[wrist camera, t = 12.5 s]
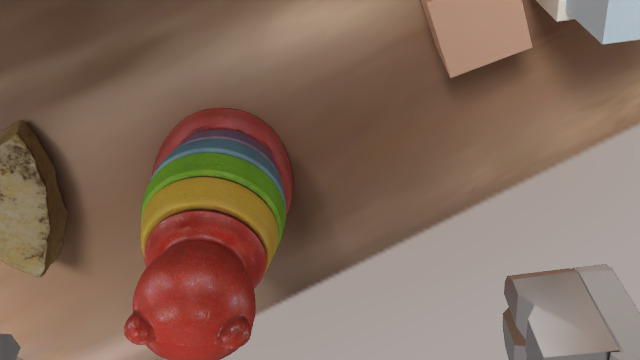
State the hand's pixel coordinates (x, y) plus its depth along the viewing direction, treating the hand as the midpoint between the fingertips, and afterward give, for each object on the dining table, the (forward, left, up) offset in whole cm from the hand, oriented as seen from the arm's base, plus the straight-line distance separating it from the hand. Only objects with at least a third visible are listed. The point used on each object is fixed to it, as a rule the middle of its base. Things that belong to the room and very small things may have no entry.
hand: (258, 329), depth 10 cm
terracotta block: (+6, +10, -31) cm, 33 cm away
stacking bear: (+16, -8, -31) cm, 36 cm away
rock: (+12, -21, -33) cm, 41 cm away
